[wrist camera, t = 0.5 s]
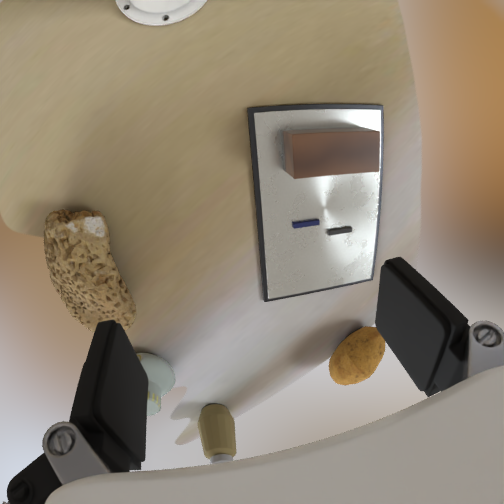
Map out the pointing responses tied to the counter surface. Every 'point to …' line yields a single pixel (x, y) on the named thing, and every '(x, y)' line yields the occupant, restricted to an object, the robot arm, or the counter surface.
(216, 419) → the squeeze bottle
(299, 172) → the eraser
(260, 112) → the whiteboard
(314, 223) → the stroke navy
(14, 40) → the counter surface
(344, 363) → the potato
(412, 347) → the robot arm
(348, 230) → the bar
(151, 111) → the counter surface
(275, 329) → the counter surface
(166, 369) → the air freshener
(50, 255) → the sponge
